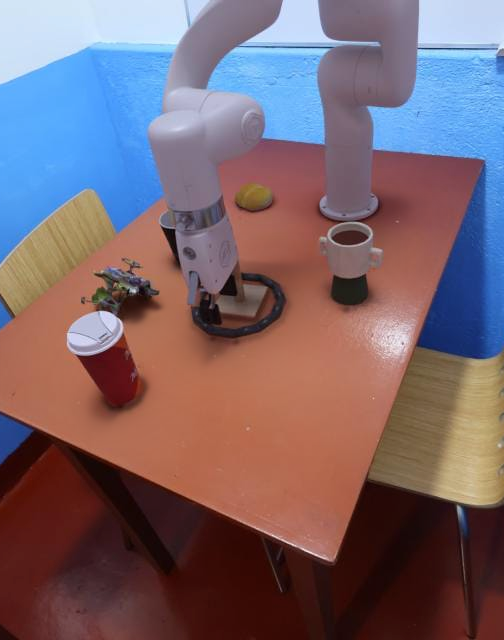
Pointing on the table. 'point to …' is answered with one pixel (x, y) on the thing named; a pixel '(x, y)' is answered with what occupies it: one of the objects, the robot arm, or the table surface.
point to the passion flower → (120, 286)
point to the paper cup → (105, 356)
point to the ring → (248, 329)
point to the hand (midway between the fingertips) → (220, 307)
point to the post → (242, 297)
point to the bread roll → (254, 197)
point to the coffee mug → (169, 233)
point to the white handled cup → (350, 260)
